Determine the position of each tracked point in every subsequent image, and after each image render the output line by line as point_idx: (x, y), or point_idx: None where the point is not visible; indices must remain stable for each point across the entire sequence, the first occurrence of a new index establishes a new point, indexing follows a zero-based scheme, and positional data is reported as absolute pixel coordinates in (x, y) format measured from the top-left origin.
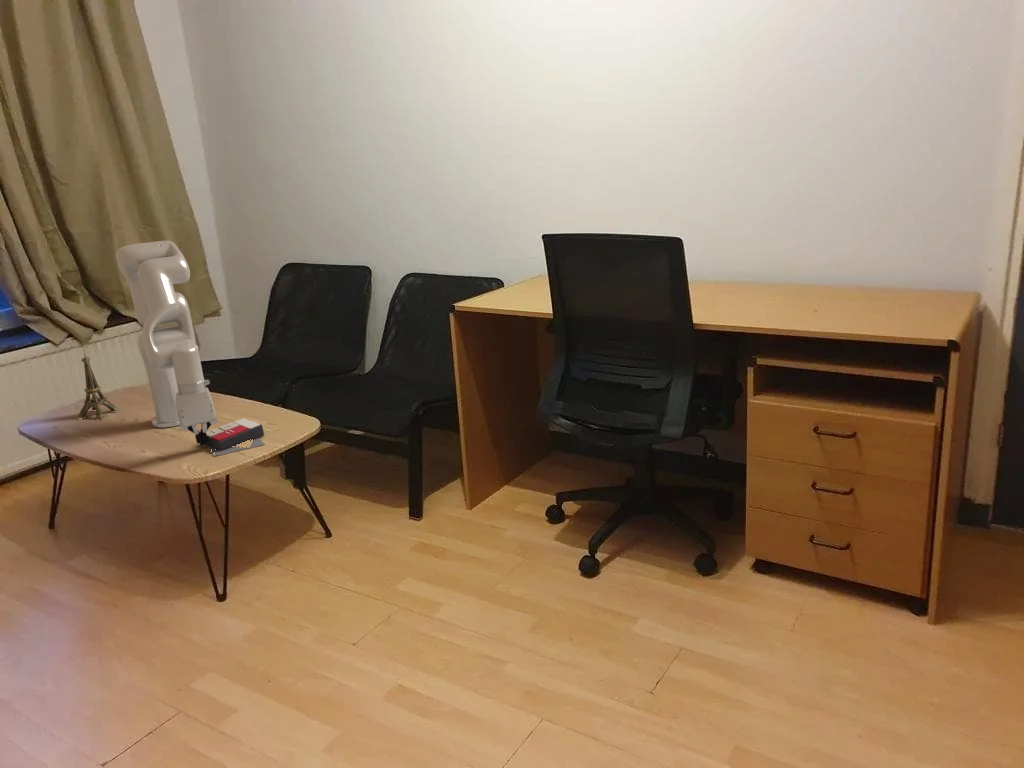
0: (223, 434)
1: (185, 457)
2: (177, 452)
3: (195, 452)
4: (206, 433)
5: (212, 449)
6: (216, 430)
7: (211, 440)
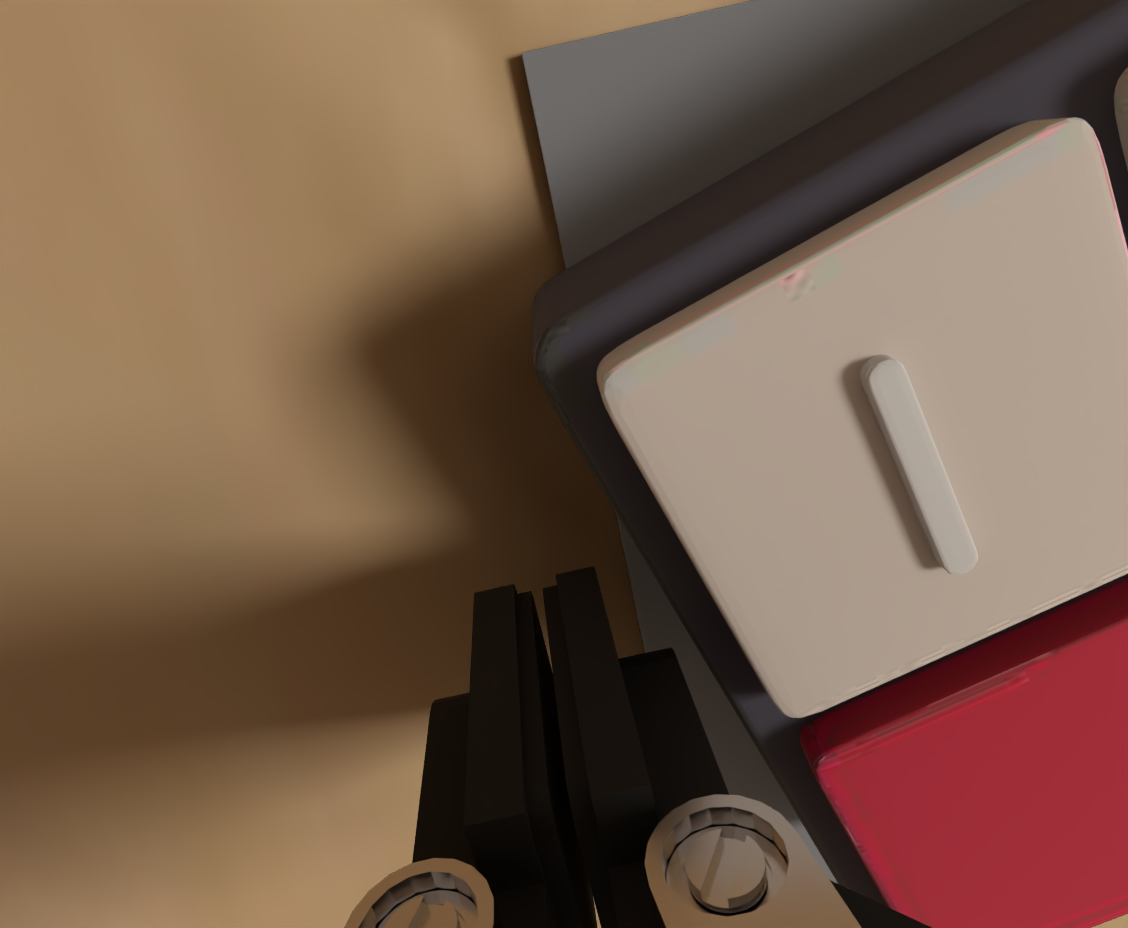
0: (1106, 782)
1: (267, 835)
2: (27, 559)
3: (410, 688)
4: (707, 481)
5: (707, 699)
6: (1022, 384)
7: (774, 774)
